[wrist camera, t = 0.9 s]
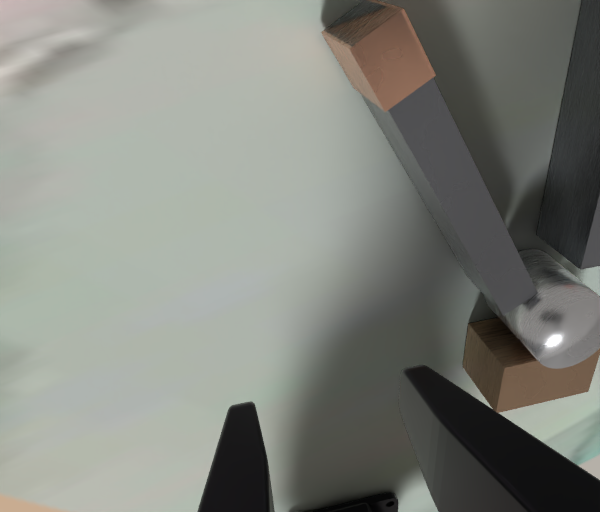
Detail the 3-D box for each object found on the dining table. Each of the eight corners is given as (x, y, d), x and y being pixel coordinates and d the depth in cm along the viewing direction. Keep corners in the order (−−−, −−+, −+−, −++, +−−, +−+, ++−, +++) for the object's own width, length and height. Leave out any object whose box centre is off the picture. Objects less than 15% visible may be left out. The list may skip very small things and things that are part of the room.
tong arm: (499, 254, 24) (540, 291, 21) (464, 277, 24) (501, 316, 22) (367, -3, 17) (403, 8, 15) (321, 32, 17) (349, 49, 15)
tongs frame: (547, 348, 28) (599, 403, 25) (462, 366, 28) (505, 426, 24) (653, -101, 18) (768, -109, 15) (524, -93, 17) (613, -99, 14)
